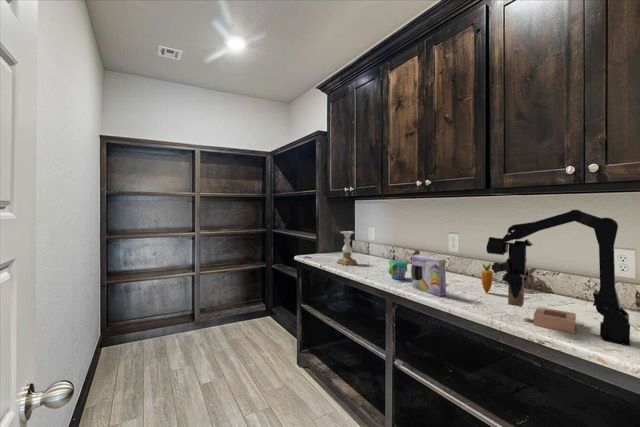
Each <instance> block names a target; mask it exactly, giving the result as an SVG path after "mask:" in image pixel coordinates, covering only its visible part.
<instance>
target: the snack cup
mask: <svg viewBox="0 0 640 427" xmlns="http://www.w3.org/2000/svg"><path fill="white" fill-rule="evenodd" d="M388 264H389V267H388V274H389V275H390V276H391V279H394V280H405V279H406V274H407V273H406V272H408V264H409V263H408V261H406V260H402V259H401V260H400V259H398V260H397V259H393V260H389V261H388Z"/></svg>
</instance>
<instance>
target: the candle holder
mask: <svg viewBox="0 0 640 427" xmlns="http://www.w3.org/2000/svg"><path fill="white" fill-rule="evenodd" d="M339 232H340V233H341V234H343V236H344V239H343V242H344V245H343V247H342V252H343V254H342V256H343V257H341V258H338V260H337V261H336V264H337V263H338V264H337V265H340V264H342V265H341V266H344V265H345V267H347V265H350V266H356V265H355V264H357V265H358V261H357V260H356V259H355V258H352V251H353V248H352V246H351V245H350V243H351V241H352V240H351V238H350V237H351V236H352V234H355V232H354V231H352V230H349V231H348V230H343V231H342V230H341V231H339Z"/></svg>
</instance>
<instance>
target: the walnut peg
mask: <svg viewBox="0 0 640 427" xmlns="http://www.w3.org/2000/svg"><path fill="white" fill-rule="evenodd" d="M507 293H508V294H507V305H508V306H515V307H519V308H522V307H523V306H524V301H525V297H524V296H525V284H523V286H522V288H521V290H520V292H519V294H518V296H517V298H513V294H512V290H511V287H510V284H509V283H508V291H507Z"/></svg>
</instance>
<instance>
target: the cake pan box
mask: <svg viewBox="0 0 640 427" xmlns="http://www.w3.org/2000/svg"><path fill="white" fill-rule="evenodd" d="M410 274H411V279H412V289H414V290H418V291H420V292H423V293H428V294H431V295H434V296H438V297H445V296H447V282H446V281H447V280H446V277H447V276H446V258H437V257H434V256H428V255H423V254H422V255H421V254H414V255H412V256H411V268H410Z"/></svg>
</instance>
